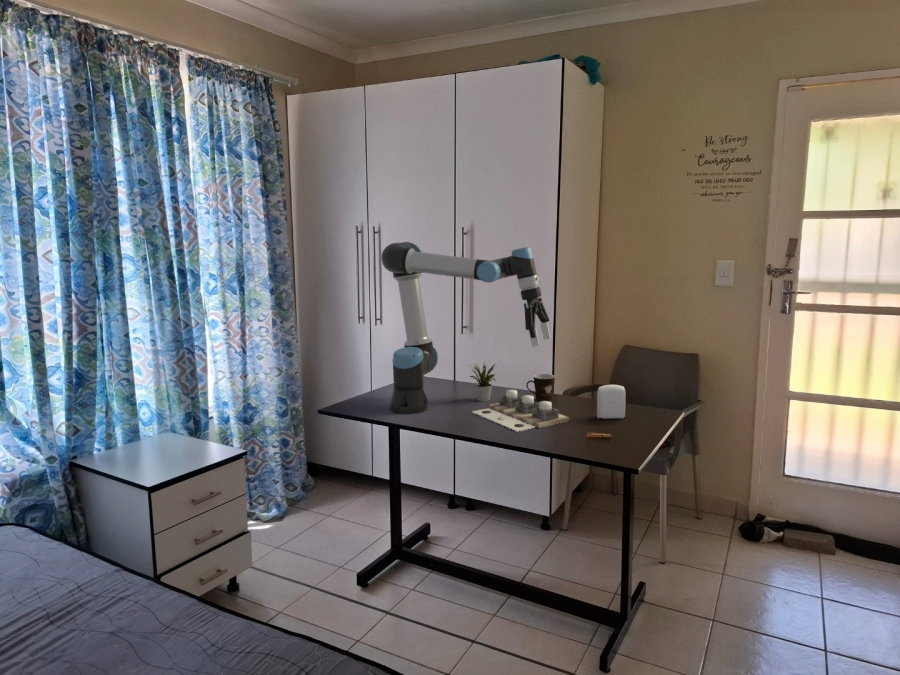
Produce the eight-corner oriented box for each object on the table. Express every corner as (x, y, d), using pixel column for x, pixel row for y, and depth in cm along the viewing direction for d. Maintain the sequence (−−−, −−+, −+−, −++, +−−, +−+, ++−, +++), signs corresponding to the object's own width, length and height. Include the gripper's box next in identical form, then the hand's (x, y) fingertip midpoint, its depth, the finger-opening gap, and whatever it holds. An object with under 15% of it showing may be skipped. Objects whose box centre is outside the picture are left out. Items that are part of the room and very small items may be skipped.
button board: (489, 408, 248) (489, 397, 247) (517, 402, 255) (517, 391, 254) (539, 428, 223) (539, 415, 222) (569, 421, 230) (569, 409, 229)
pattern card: (471, 412, 242) (471, 411, 242) (488, 409, 246) (488, 407, 246) (517, 432, 219) (517, 430, 219) (535, 428, 223) (535, 426, 223)
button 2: (536, 411, 231) (536, 402, 230) (546, 409, 233) (546, 400, 232) (544, 414, 227) (544, 405, 226) (554, 412, 229) (554, 403, 229)
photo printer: (598, 419, 232) (599, 386, 230) (595, 415, 236) (596, 383, 234) (626, 419, 232) (627, 386, 230) (623, 415, 236) (624, 383, 234)
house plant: (461, 404, 254) (461, 364, 251) (464, 395, 268) (464, 357, 265) (497, 405, 252) (497, 364, 249) (498, 395, 266) (498, 357, 263)
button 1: (503, 399, 247) (503, 390, 247) (512, 397, 250) (512, 389, 249) (510, 401, 244) (510, 393, 243) (519, 400, 246) (519, 391, 245)
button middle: (519, 405, 239) (519, 396, 238) (528, 403, 241) (528, 394, 241) (527, 408, 235) (527, 398, 235) (536, 406, 238) (536, 397, 237)
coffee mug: (553, 397, 262) (554, 373, 261) (555, 403, 254) (555, 378, 252) (525, 397, 263) (525, 373, 262) (526, 402, 255) (526, 378, 253)
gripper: (527, 290, 227) (540, 347, 229) (549, 282, 249) (560, 334, 251) (508, 294, 230) (521, 350, 232) (531, 286, 252) (542, 337, 254)
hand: (541, 342), depth 242 cm, fingers open, 13 cm apart
